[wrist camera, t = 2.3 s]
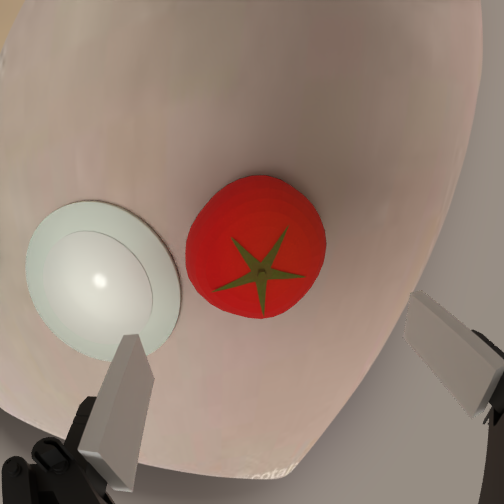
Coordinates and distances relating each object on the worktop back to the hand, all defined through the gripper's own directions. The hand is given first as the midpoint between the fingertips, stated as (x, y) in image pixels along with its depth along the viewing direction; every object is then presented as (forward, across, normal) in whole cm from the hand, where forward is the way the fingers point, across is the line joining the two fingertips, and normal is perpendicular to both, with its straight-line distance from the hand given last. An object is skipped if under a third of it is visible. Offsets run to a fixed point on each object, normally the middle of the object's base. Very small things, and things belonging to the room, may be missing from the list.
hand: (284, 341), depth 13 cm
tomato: (+19, 0, 0) cm, 19 cm away
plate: (+19, -18, -4) cm, 26 cm away
